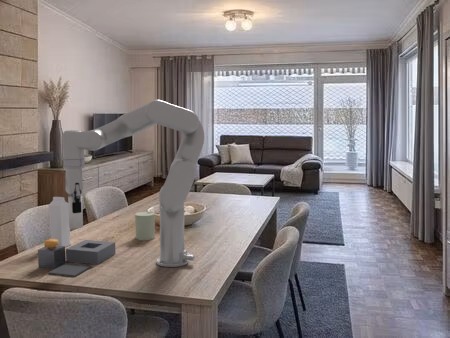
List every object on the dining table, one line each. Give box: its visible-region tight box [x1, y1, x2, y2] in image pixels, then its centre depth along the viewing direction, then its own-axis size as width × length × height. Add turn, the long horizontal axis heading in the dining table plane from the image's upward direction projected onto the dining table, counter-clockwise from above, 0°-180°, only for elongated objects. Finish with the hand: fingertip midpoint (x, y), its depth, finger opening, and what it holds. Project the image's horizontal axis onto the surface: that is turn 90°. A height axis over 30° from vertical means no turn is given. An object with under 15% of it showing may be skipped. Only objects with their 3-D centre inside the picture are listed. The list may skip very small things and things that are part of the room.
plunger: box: [43, 238, 58, 249], centre depth 175 cm, size 5×5×8 cm
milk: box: [48, 196, 71, 248], centre depth 201 cm, size 6×6×22 cm
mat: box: [48, 262, 93, 278], centre depth 170 cm, size 11×11×1 cm
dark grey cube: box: [37, 246, 67, 270], centre depth 175 cm, size 7×7×7 cm
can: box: [134, 211, 156, 241], centre depth 215 cm, size 9×9×12 cm
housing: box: [65, 239, 117, 265], centre depth 185 cm, size 14×14×5 cm
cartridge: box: [67, 190, 84, 230], centre depth 173 cm, size 5×5×14 cm
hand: (75, 210), depth 173 cm, fingers closed on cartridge, 5 cm apart
